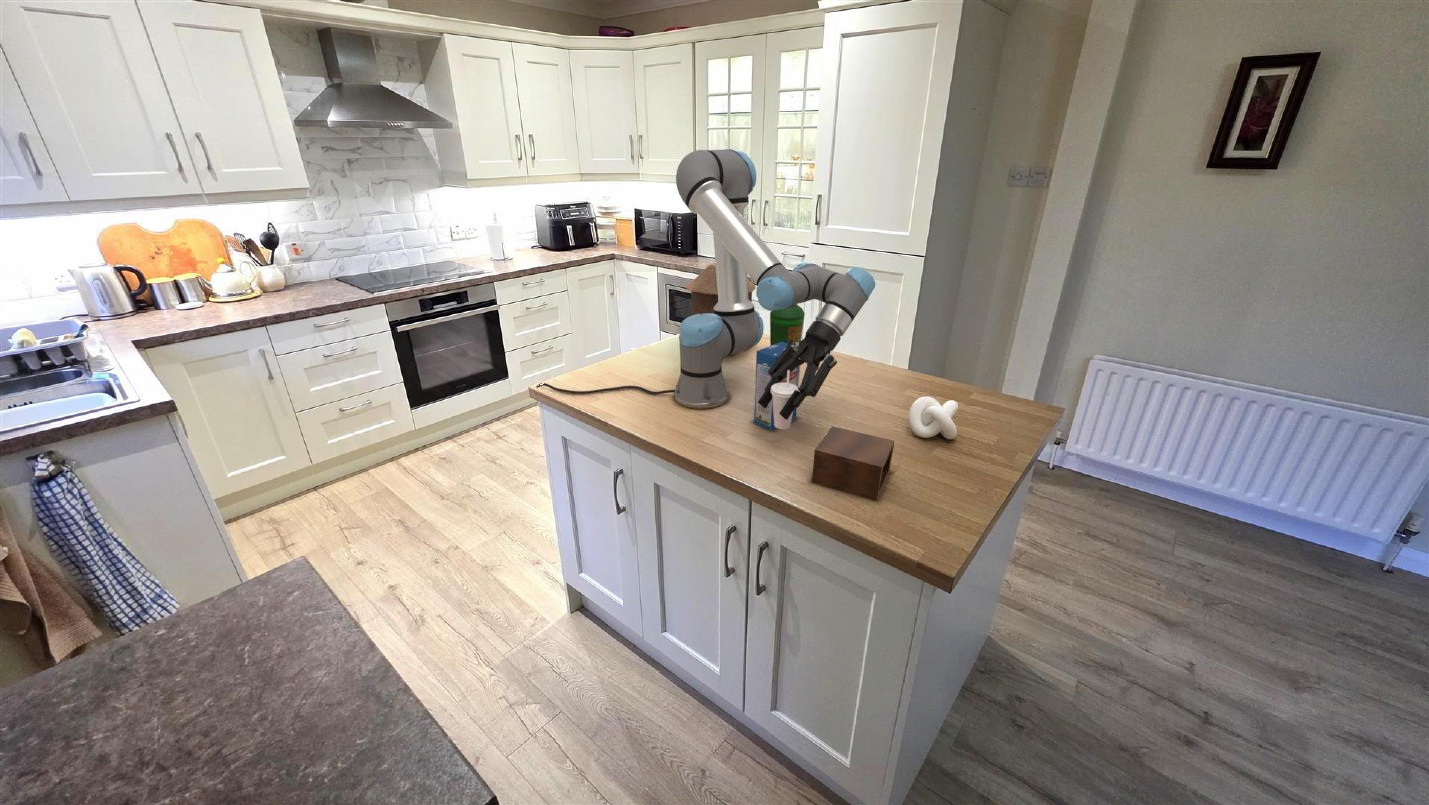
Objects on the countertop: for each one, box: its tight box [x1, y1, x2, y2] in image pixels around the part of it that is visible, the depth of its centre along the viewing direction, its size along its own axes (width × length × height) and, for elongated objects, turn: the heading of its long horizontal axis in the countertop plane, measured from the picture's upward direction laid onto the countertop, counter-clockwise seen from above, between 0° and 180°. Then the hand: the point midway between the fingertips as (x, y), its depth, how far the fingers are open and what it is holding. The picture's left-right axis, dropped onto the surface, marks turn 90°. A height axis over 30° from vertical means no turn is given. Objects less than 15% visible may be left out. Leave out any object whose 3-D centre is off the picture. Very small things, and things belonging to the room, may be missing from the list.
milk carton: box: [753, 342, 801, 432], centre depth 140 cm, size 10×6×20 cm, turn 135°
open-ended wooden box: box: [811, 425, 895, 501], centre depth 119 cm, size 14×12×8 cm
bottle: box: [769, 304, 806, 346], centre depth 170 cm, size 11×11×28 cm
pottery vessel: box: [685, 262, 757, 316], centre depth 186 cm, size 26×26×30 cm
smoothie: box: [771, 370, 799, 430], centre depth 126 cm, size 6×6×14 cm
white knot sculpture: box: [908, 396, 959, 440], centre depth 137 cm, size 11×12×9 cm
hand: (772, 410), depth 125 cm, fingers closed on smoothie, 6 cm apart
